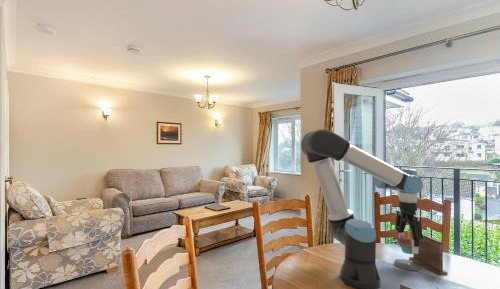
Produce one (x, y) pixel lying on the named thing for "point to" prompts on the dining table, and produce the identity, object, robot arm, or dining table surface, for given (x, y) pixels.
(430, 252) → the screen
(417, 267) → the plate
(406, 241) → the cupcake
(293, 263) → the dining table surface
